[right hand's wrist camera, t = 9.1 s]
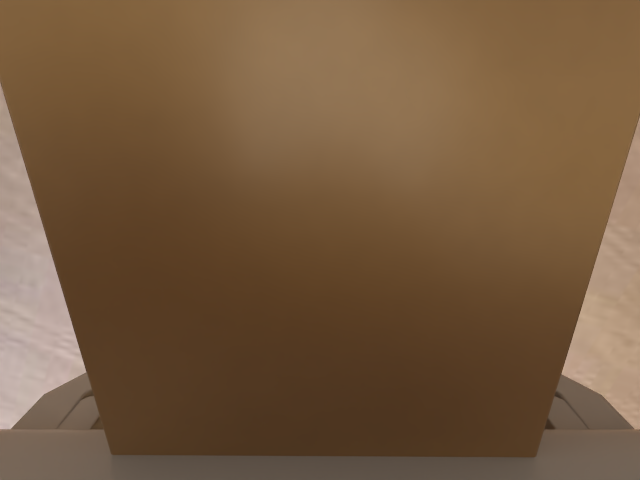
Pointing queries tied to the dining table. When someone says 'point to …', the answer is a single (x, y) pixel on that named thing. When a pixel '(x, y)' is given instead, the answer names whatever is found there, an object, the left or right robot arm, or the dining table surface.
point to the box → (323, 211)
